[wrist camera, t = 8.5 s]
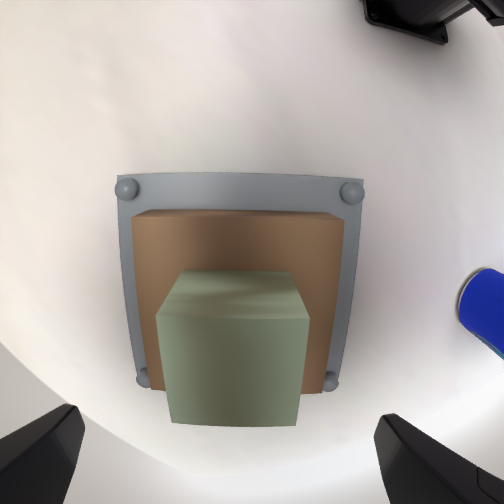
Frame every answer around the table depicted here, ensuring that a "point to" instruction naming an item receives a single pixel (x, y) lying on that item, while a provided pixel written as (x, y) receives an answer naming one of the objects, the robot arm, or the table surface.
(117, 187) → the baseplate
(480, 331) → the beverage can
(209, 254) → the base brick
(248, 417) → the block
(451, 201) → the table surface
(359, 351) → the table surface
